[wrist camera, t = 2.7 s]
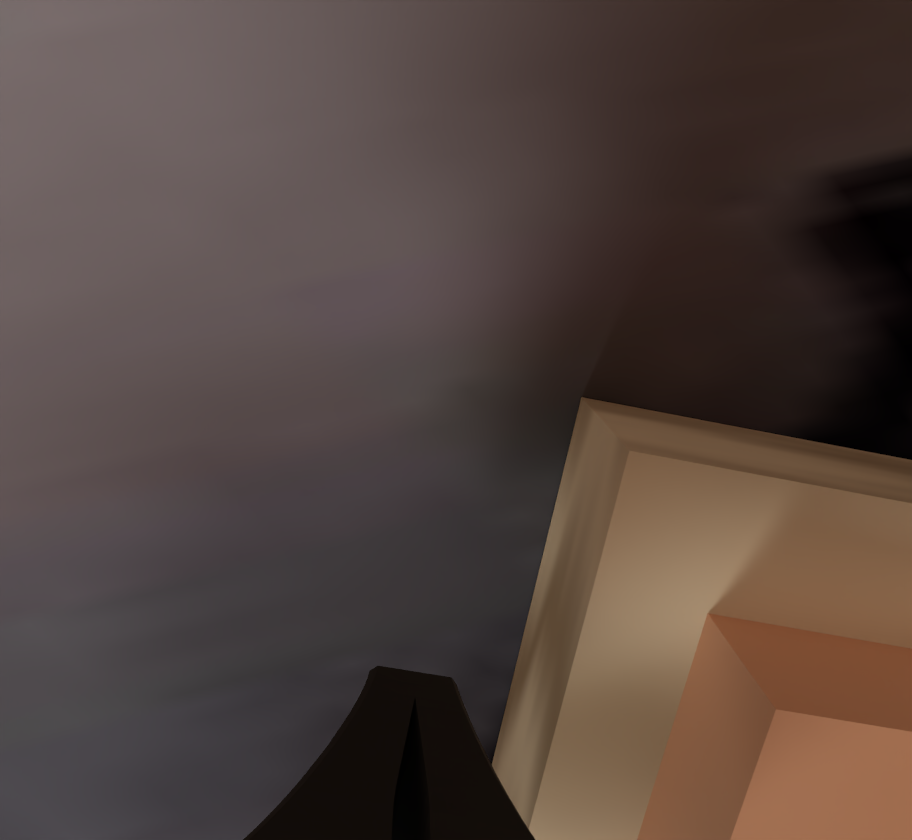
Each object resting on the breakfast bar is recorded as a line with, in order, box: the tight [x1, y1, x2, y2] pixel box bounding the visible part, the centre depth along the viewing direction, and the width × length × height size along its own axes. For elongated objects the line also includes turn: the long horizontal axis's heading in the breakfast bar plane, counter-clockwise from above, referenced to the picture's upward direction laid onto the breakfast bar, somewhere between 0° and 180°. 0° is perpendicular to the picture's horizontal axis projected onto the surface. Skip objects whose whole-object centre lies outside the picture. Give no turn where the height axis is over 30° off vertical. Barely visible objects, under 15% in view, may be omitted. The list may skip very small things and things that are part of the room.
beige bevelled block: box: [492, 397, 912, 840], centre depth 14 cm, size 10×9×4 cm
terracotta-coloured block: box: [637, 613, 912, 840], centre depth 11 cm, size 5×5×2 cm
